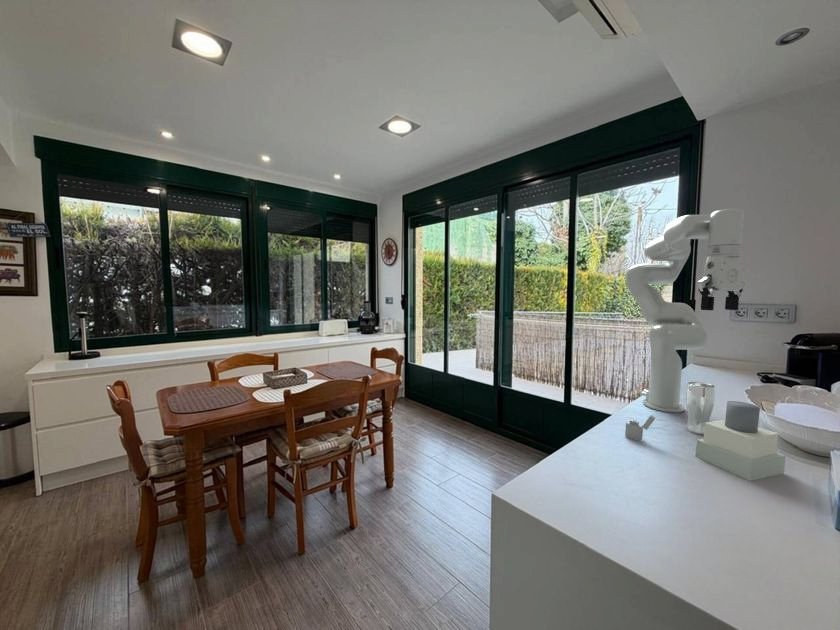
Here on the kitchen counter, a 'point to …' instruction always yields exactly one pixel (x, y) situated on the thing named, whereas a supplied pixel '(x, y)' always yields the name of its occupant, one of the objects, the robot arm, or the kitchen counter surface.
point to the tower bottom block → (741, 462)
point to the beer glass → (699, 405)
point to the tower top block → (741, 440)
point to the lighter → (637, 428)
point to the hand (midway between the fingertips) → (719, 309)
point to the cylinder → (742, 416)
